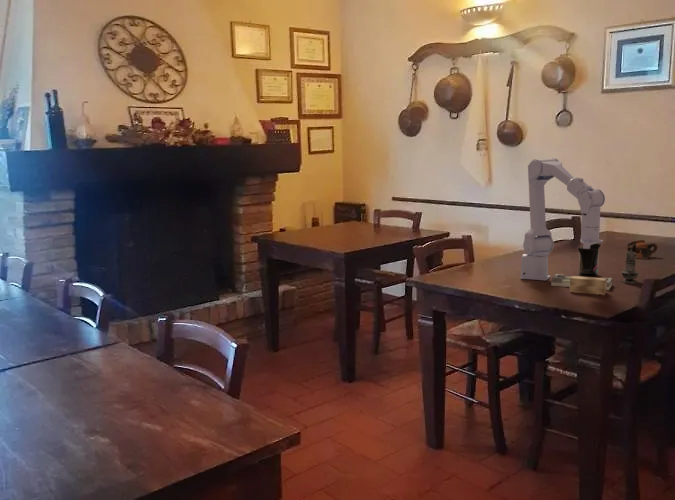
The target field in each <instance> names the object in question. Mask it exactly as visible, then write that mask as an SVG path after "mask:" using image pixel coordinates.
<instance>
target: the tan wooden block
mask: <svg viewBox="0 0 675 500" xmlns="http://www.w3.org/2000/svg"><path fill="white" fill-rule="evenodd" d="M570 277H571V278H570V287H569V292H570V293H578V294H579V293H580V294H587V293H588V294H589V295H599V294H601V295H602V296H605V295H606V293H607V290H606V281H607V279H605V278H606V277H593V276H581V275H580V276H578V275H571V276H570Z"/></svg>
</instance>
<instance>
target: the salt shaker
mask: <svg viewBox="0 0 675 500" xmlns="http://www.w3.org/2000/svg"><path fill="white" fill-rule="evenodd" d="M624 262H625V268H624V269H623V270H622V271H621V272H620V273H621V275H622V276H621V277H623V279H622V280H621V283H624V284H638V283H639V282H638V281H637V280H636V278H638V276H639V274H640V272H639V271H637V270H636V263H637V261H636V252H633V251H632V249H631V251H627V252H626V259H625V261H624Z"/></svg>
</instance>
